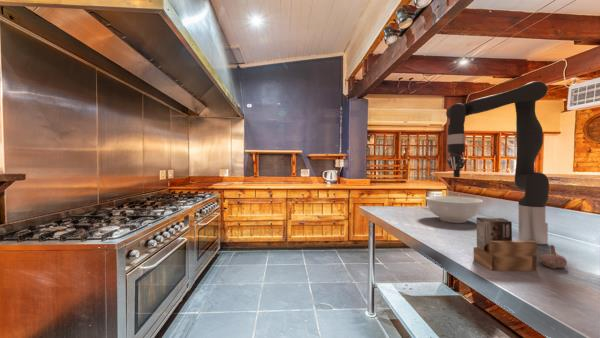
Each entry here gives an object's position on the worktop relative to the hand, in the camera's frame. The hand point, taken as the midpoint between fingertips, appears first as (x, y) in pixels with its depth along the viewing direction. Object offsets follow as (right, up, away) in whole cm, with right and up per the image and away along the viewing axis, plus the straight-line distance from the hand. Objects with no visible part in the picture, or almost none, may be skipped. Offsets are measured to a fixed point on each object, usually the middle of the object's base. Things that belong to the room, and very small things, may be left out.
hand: (456, 177), depth 122 cm
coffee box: (-7, -31, -31) cm, 45 cm away
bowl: (+21, -30, +36) cm, 52 cm away
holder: (-6, -31, -35) cm, 47 cm away
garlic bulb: (+11, -31, -36) cm, 49 cm away
